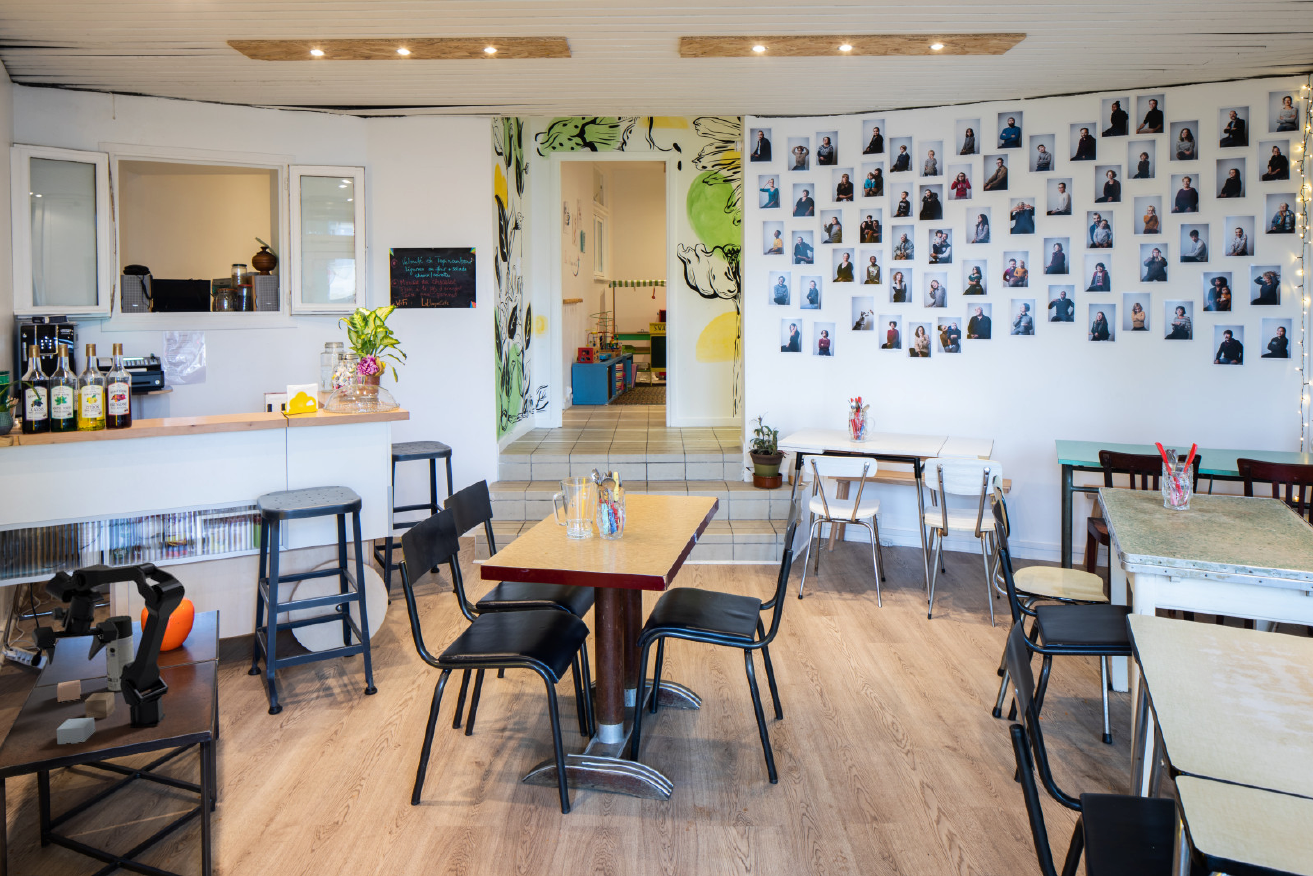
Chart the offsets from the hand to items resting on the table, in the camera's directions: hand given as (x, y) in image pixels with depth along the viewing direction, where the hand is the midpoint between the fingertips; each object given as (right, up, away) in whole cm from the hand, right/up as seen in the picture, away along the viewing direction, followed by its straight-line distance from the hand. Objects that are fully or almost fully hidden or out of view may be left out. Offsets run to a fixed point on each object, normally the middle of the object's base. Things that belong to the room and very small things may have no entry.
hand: (69, 662), depth 240 cm
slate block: (+12, -15, -16) cm, 25 cm away
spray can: (+4, -11, +16) cm, 20 cm away
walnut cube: (+9, -13, -2) cm, 16 cm away
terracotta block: (-6, -12, +8) cm, 16 cm away
